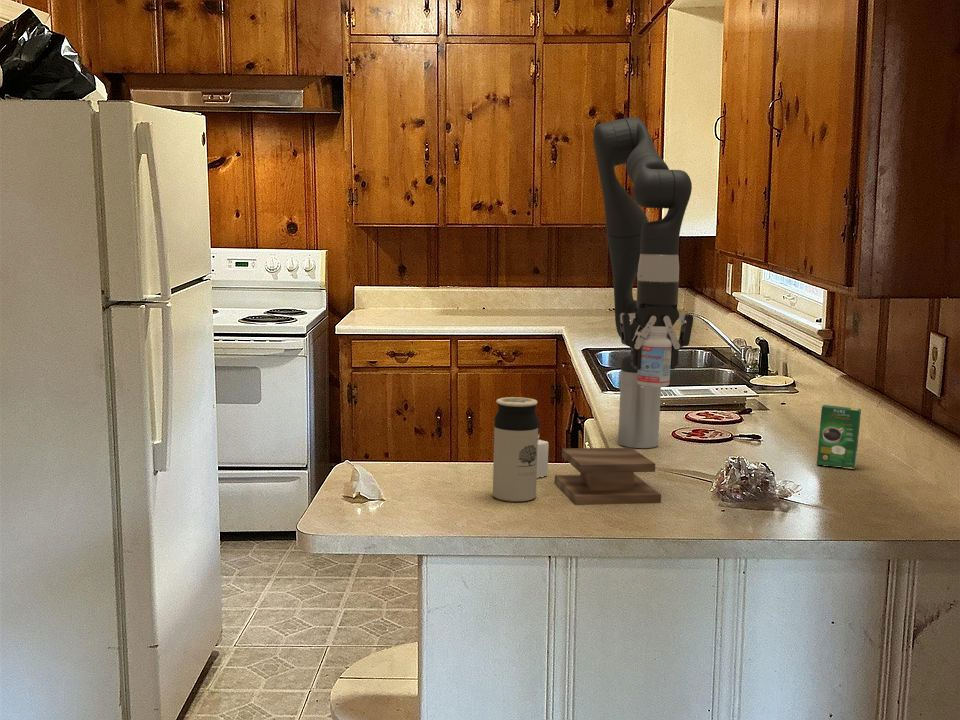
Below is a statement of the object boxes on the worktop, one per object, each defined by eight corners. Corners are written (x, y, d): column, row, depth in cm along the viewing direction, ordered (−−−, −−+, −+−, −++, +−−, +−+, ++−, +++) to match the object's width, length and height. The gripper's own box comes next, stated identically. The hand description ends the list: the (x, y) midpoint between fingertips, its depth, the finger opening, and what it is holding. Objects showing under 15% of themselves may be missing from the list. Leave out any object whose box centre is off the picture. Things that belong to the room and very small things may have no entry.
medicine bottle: (522, 470, 212) (523, 412, 211) (548, 476, 207) (550, 417, 206) (497, 475, 207) (499, 416, 206) (523, 482, 202) (525, 421, 201)
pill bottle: (630, 385, 194) (633, 325, 192) (647, 381, 199) (649, 323, 197) (659, 388, 190) (662, 327, 189) (675, 385, 195) (678, 325, 193)
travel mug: (485, 493, 193) (488, 397, 190) (524, 490, 196) (527, 396, 194) (503, 504, 185) (506, 405, 183) (543, 500, 189) (546, 402, 186)
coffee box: (857, 468, 221) (861, 407, 219) (855, 470, 218) (860, 409, 217) (818, 463, 225) (822, 403, 223) (816, 466, 222) (820, 405, 220)
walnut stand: (554, 482, 202) (555, 447, 201) (633, 481, 205) (635, 446, 204) (575, 504, 186) (576, 466, 186) (660, 502, 189) (662, 464, 188)
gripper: (627, 279, 187) (623, 371, 189) (702, 280, 189) (698, 371, 192) (614, 277, 194) (611, 366, 196) (687, 278, 197) (683, 366, 199)
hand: (654, 368), depth 194 cm, fingers closed on pill bottle, 6 cm apart
